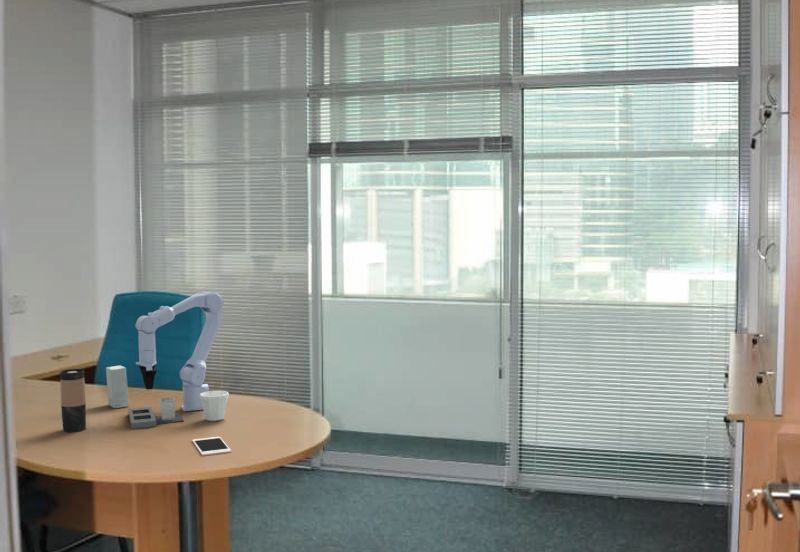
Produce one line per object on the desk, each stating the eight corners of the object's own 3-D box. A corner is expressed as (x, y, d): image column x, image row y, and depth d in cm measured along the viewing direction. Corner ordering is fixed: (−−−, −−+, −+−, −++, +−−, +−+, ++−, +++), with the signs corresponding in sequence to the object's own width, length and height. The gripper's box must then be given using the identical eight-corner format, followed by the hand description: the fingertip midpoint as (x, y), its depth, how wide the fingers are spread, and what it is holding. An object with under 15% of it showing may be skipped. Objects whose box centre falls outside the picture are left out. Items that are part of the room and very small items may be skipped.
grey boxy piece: (174, 416, 294) (174, 397, 293) (176, 419, 289) (175, 400, 288) (159, 417, 292) (159, 398, 292) (161, 421, 287) (160, 401, 287)
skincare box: (129, 406, 311) (127, 367, 310) (112, 409, 308) (111, 369, 307) (123, 402, 318) (121, 364, 317) (106, 404, 315) (105, 366, 314)
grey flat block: (151, 412, 302) (151, 406, 302) (156, 426, 282) (156, 420, 282) (128, 414, 299) (128, 408, 299) (131, 429, 279) (131, 423, 279)
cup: (222, 423, 285) (221, 397, 284) (195, 422, 287) (194, 396, 286) (233, 416, 294) (233, 391, 294) (207, 415, 296) (206, 390, 296)
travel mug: (91, 427, 281) (89, 369, 280) (75, 433, 274) (73, 373, 273) (73, 425, 284) (70, 368, 282) (57, 431, 277) (54, 372, 275)
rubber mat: (180, 415, 297) (180, 414, 297) (183, 421, 288) (183, 420, 288) (154, 418, 294) (154, 417, 293) (156, 424, 285) (156, 422, 285)
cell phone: (202, 457, 247) (202, 454, 247) (191, 442, 263) (191, 439, 263) (231, 453, 250) (231, 450, 250) (219, 439, 267) (219, 436, 267)
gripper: (134, 347, 301) (135, 384, 302) (136, 353, 287) (138, 392, 288) (154, 345, 303) (155, 382, 304) (157, 352, 290) (159, 390, 291)
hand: (148, 387), depth 296 cm, fingers open, 7 cm apart
